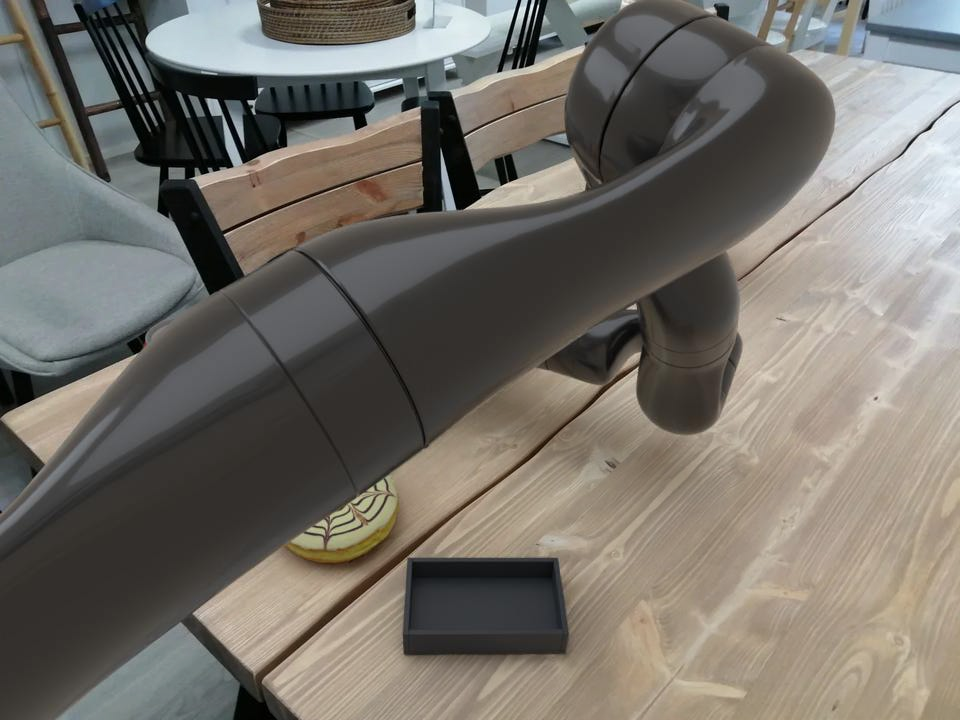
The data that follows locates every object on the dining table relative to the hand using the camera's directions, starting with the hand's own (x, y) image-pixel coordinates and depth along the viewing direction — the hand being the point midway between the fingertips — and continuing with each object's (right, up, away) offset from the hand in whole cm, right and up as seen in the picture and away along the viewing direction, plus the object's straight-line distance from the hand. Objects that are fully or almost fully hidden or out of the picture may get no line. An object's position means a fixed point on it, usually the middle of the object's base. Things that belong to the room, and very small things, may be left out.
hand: (367, 277), depth 75 cm
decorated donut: (-1, -22, -12) cm, 25 cm away
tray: (+12, -28, -19) cm, 35 cm away
